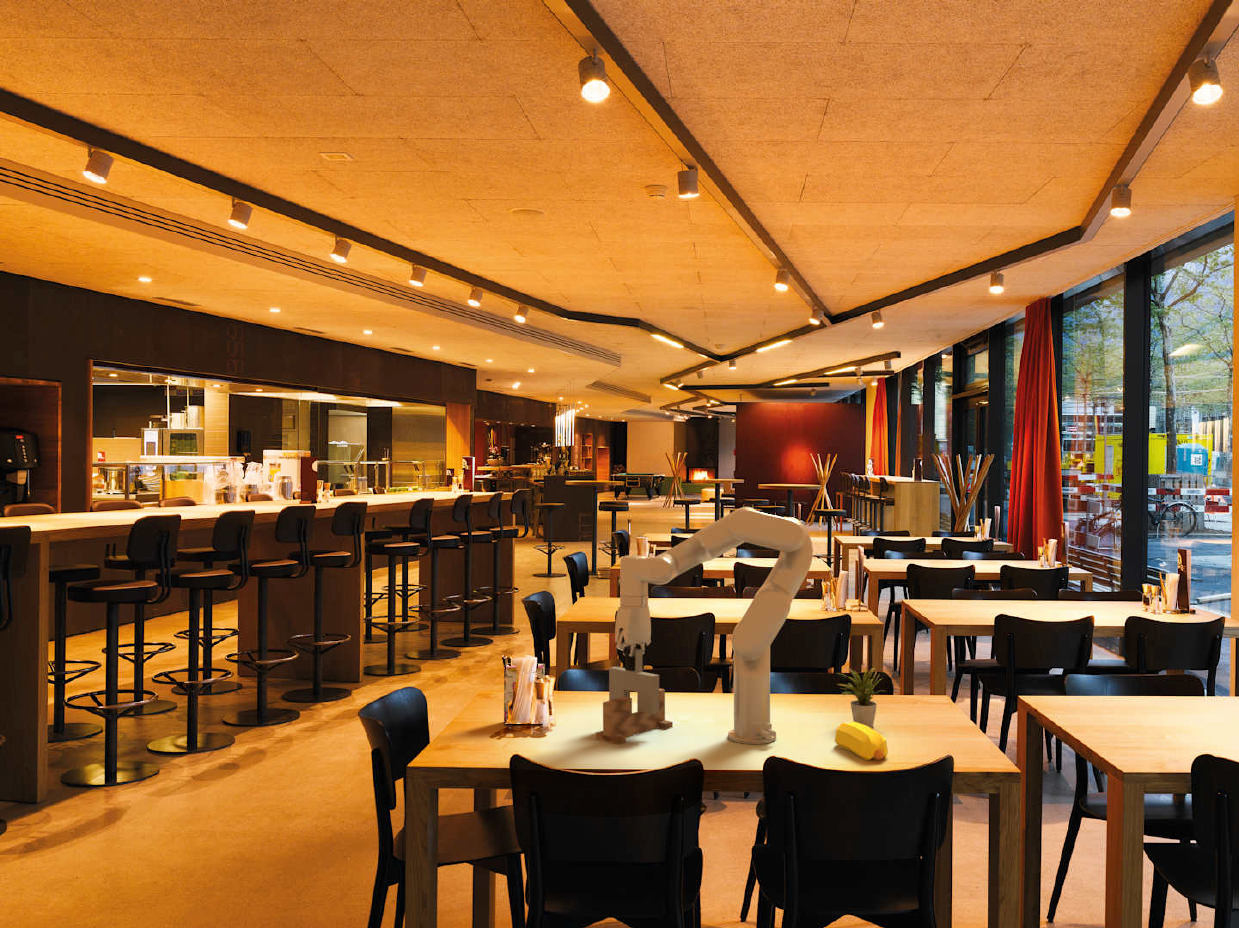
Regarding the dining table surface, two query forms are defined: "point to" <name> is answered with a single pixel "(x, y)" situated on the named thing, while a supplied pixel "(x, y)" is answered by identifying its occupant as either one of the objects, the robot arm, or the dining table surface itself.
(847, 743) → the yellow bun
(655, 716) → the walnut slotted stand
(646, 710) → the grey slotted plate
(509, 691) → the candy bar box
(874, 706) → the house plant
